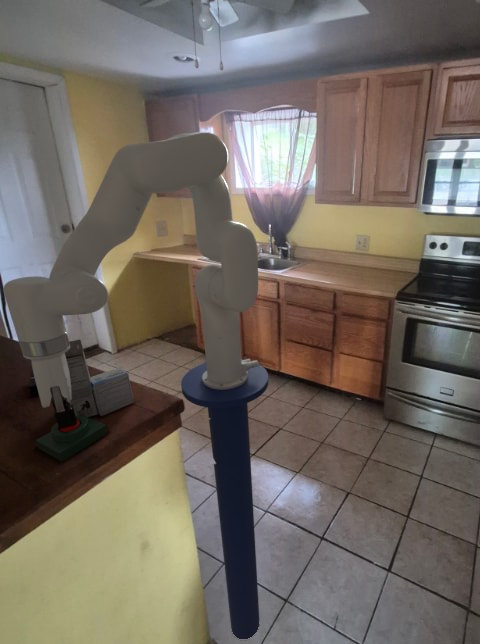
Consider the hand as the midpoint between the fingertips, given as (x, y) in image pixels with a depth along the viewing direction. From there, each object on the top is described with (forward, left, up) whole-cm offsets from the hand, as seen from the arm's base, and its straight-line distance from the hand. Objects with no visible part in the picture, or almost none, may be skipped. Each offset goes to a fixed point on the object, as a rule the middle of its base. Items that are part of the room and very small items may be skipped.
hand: (68, 424), depth 76 cm
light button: (0, 0, -2) cm, 2 cm away
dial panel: (+4, -29, -4) cm, 30 cm away
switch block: (0, 0, -4) cm, 4 cm away
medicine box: (-9, -10, -4) cm, 14 cm away
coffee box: (-2, -12, -4) cm, 13 cm away
